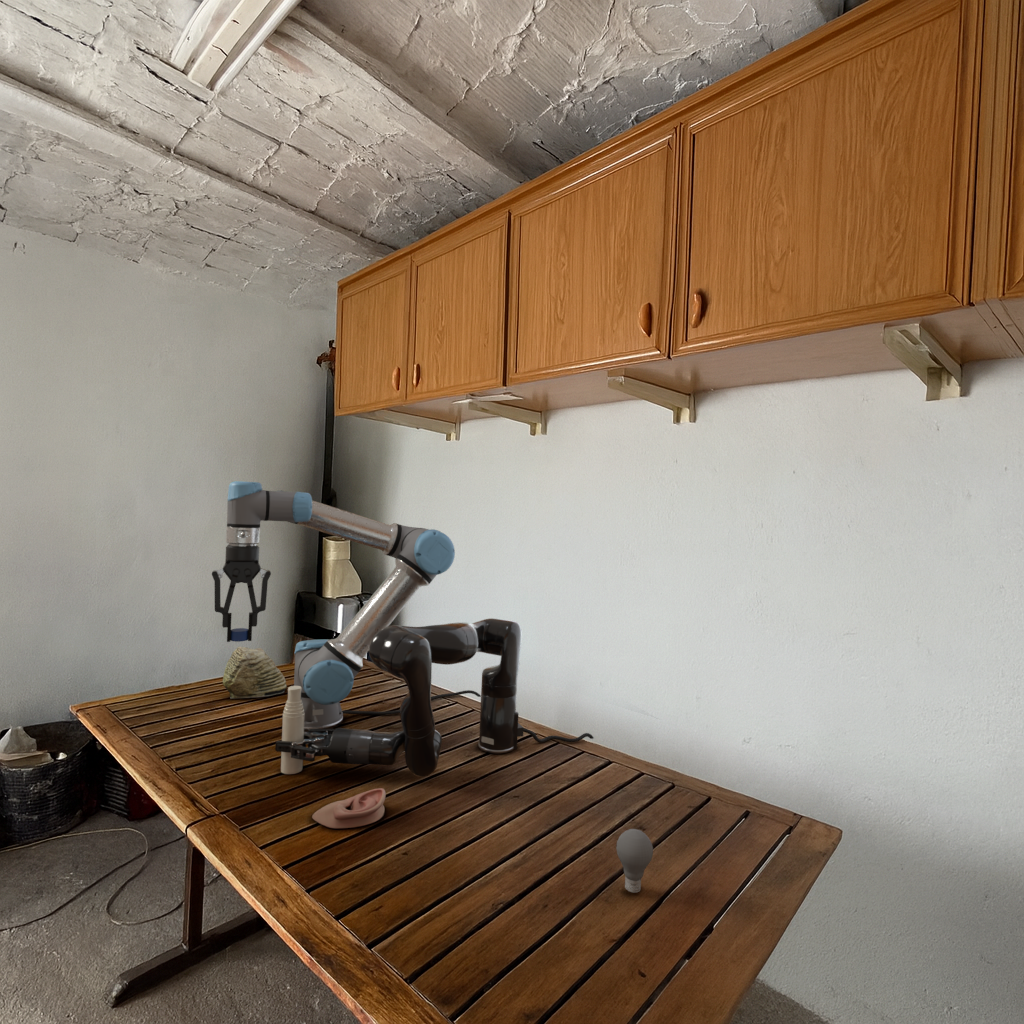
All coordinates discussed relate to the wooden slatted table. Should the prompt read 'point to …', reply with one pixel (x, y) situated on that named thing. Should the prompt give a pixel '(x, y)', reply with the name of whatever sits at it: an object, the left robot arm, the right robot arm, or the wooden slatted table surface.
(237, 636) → the cap
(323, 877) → the wooden slatted table surface
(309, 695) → the left robot arm
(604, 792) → the wooden slatted table surface
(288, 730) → the bottle
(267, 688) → the fossil
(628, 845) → the light bulb
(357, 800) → the anatomical model
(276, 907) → the wooden slatted table surface
